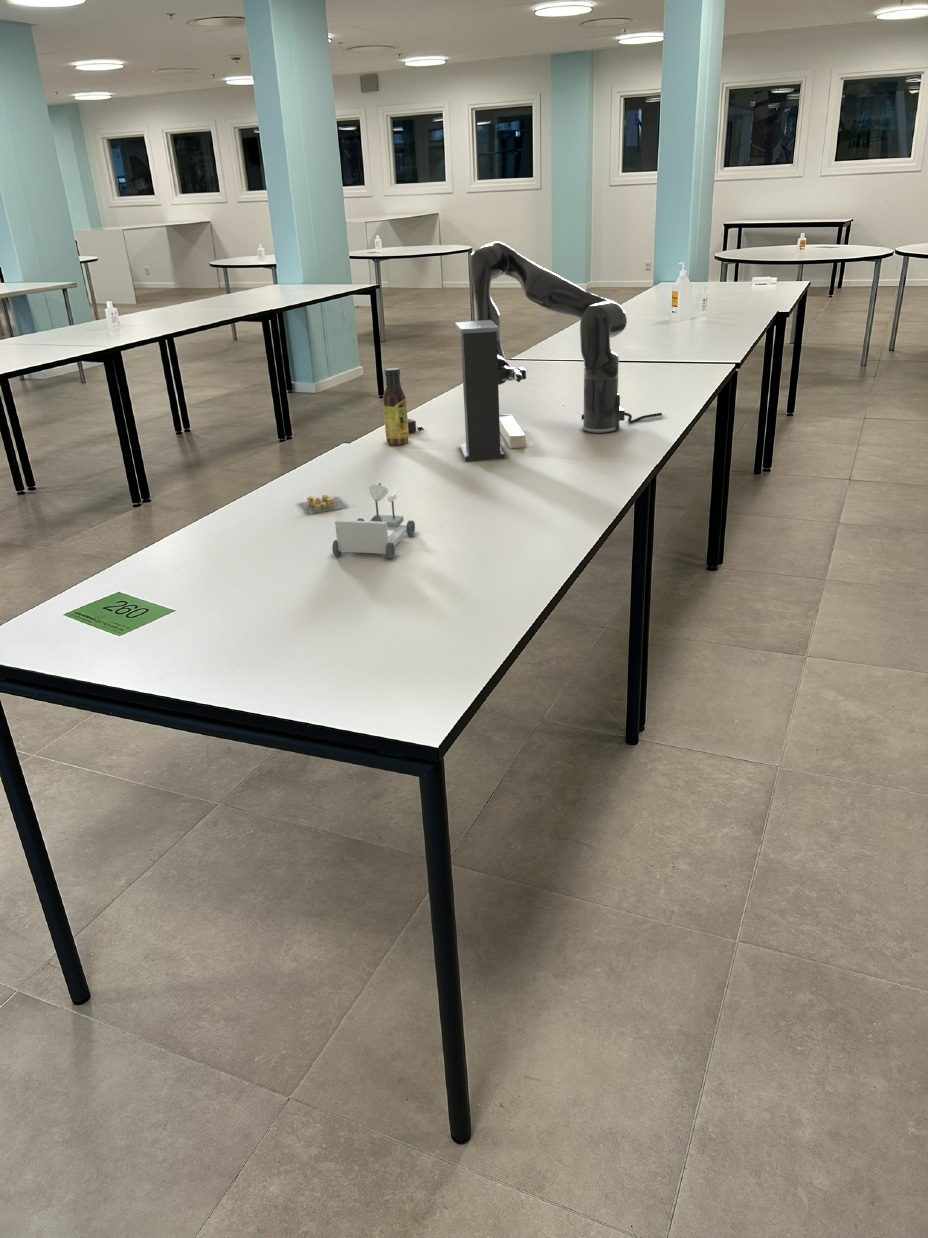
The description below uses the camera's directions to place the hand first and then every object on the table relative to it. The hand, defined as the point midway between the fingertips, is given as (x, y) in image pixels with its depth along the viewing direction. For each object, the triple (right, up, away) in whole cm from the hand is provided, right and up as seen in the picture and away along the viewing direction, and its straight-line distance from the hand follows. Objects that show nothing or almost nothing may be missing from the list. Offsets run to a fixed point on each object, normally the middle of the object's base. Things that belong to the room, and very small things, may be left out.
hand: (503, 379), depth 249 cm
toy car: (-28, -52, -72) cm, 93 cm away
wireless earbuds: (-26, -13, +8) cm, 30 cm away
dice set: (-43, -42, -50) cm, 78 cm away
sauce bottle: (-29, -19, -3) cm, 35 cm away
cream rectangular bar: (+2, -17, -3) cm, 17 cm away
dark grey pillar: (-7, -24, -17) cm, 30 cm away
